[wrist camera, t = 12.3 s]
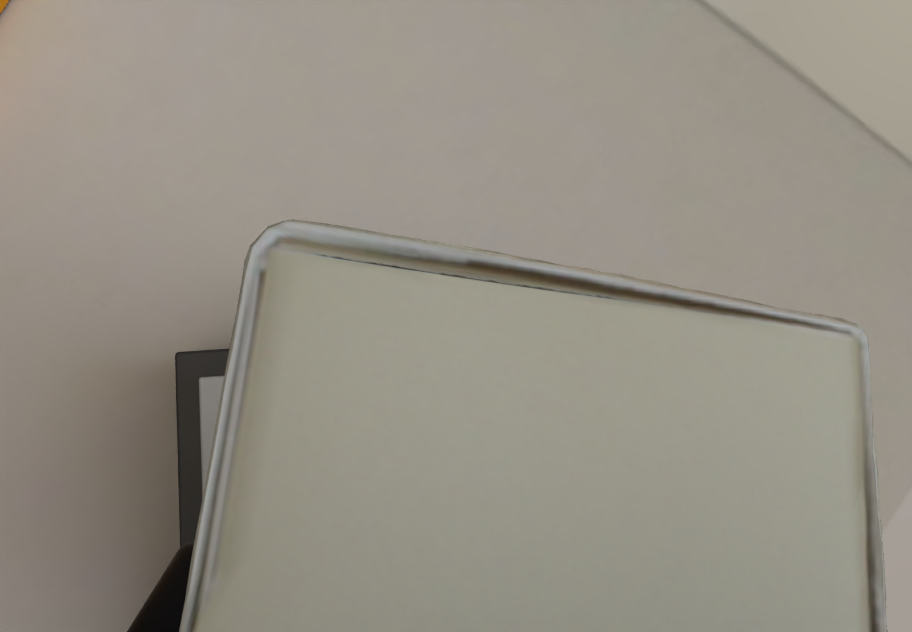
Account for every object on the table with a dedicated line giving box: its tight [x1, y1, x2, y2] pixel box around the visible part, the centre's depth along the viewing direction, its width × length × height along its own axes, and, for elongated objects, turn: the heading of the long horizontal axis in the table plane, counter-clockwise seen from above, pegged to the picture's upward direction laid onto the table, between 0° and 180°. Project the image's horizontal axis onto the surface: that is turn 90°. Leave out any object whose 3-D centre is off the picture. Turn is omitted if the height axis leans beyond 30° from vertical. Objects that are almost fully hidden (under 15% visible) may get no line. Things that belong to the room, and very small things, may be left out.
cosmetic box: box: [179, 220, 888, 632], centre depth 10 cm, size 6×4×12 cm
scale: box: [175, 349, 229, 548], centre depth 21 cm, size 12×11×3 cm
